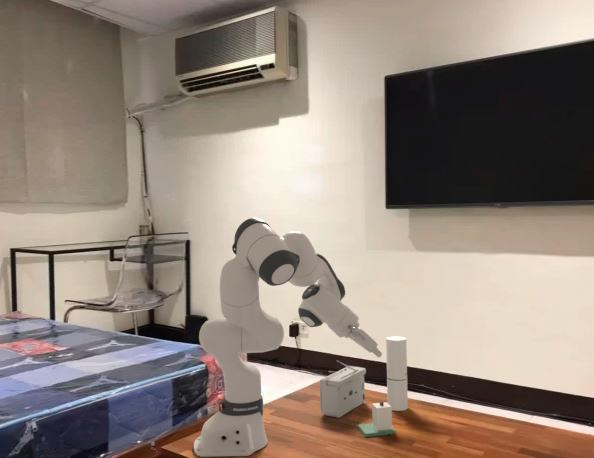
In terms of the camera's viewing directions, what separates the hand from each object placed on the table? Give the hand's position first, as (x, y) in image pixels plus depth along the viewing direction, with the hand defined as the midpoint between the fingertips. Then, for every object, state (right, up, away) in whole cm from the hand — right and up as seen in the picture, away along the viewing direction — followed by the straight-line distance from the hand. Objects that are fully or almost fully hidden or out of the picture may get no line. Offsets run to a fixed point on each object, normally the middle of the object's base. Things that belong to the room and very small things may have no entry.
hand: (375, 352), depth 176 cm
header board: (0, -25, 0) cm, 25 cm away
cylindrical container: (+11, -25, +22) cm, 35 cm away
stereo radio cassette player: (-8, -26, +21) cm, 34 cm away
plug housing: (+2, -24, +1) cm, 24 cm away
